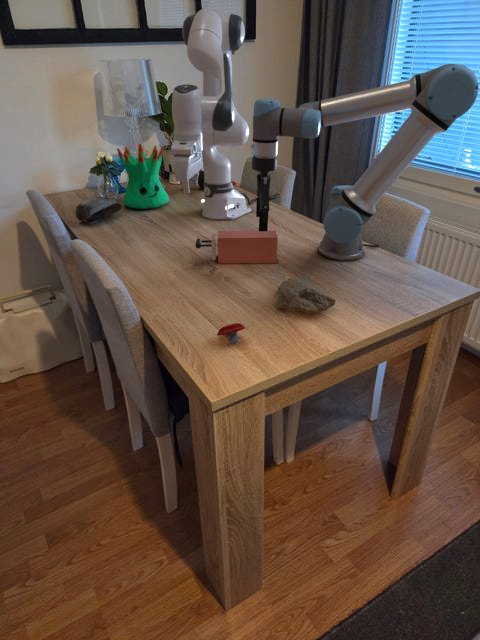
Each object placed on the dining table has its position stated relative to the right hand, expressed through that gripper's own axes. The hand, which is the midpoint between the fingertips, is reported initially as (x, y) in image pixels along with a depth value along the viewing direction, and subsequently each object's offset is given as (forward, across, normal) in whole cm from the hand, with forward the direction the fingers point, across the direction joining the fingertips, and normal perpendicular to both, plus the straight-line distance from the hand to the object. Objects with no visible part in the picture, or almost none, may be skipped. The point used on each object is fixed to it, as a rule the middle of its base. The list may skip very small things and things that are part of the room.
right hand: (261, 223), depth 146 cm
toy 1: (+14, -62, -48) cm, 80 cm away
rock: (+14, -42, -64) cm, 78 cm away
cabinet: (+13, 0, -4) cm, 13 cm away
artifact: (+12, +31, +9) cm, 35 cm away
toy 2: (+13, -87, -19) cm, 90 cm away
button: (+12, +49, -10) cm, 52 cm away
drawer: (+12, 0, -10) cm, 15 cm away
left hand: (-10, -5, -23) cm, 26 cm away
